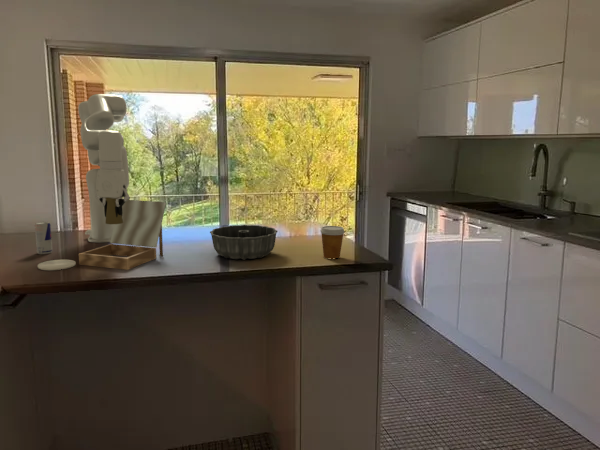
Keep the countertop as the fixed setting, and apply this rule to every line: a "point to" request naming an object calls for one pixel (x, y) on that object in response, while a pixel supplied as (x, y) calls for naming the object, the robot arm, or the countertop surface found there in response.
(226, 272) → the countertop surface
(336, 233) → the disposable coffee cup
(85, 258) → the cold frame
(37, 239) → the energy drink
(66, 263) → the saucer
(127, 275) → the countertop surface
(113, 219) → the cork
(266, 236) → the bundt pan
